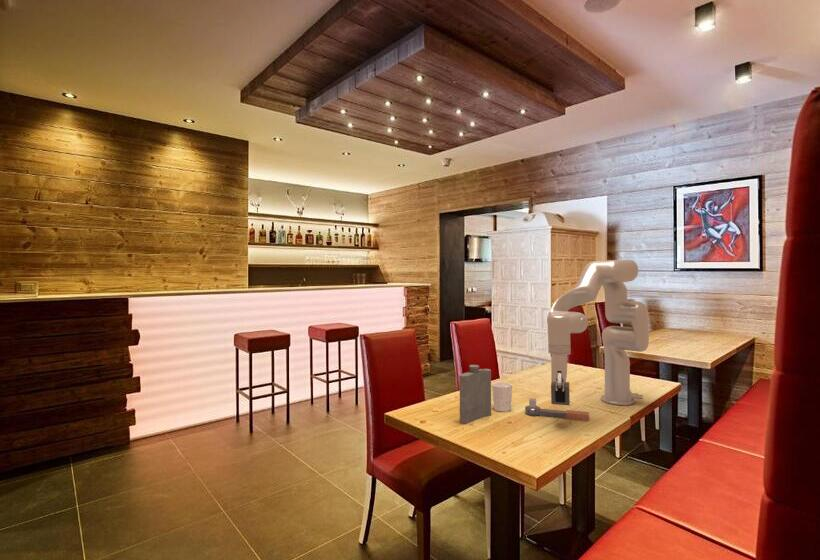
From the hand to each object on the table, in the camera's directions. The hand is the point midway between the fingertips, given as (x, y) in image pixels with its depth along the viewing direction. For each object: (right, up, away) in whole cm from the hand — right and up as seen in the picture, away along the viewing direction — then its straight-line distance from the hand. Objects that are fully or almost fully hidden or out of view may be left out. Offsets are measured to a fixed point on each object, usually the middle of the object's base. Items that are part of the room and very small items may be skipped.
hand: (560, 398), depth 149 cm
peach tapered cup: (-17, -10, +19) cm, 27 cm away
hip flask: (-29, -10, +9) cm, 32 cm away
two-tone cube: (0, -1, 0) cm, 1 cm away
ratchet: (+1, -10, +10) cm, 14 cm away
